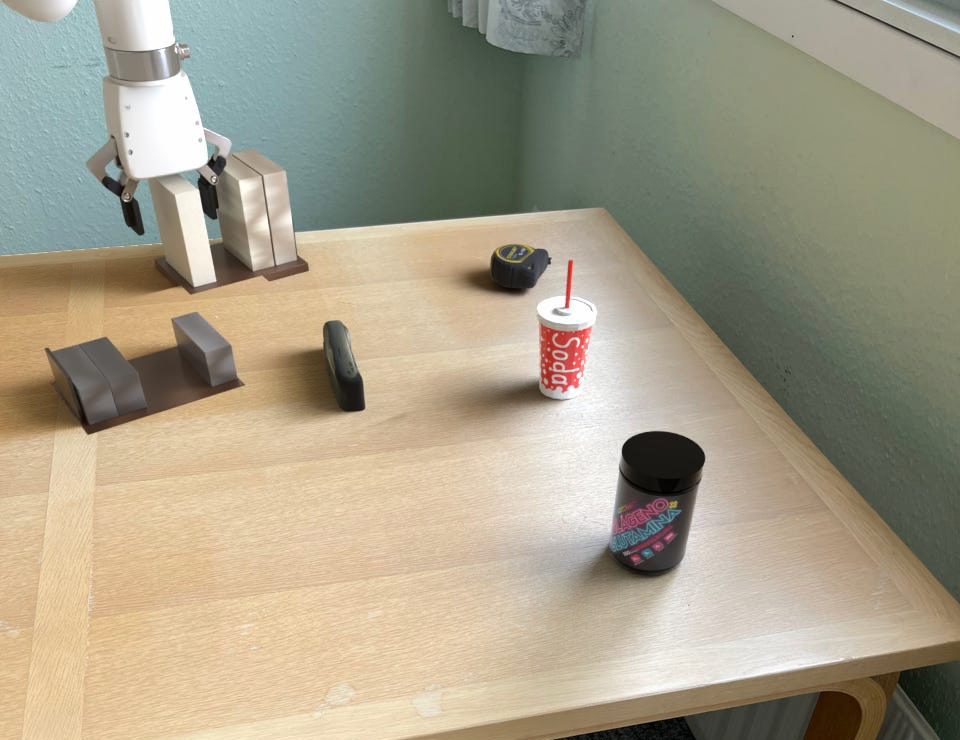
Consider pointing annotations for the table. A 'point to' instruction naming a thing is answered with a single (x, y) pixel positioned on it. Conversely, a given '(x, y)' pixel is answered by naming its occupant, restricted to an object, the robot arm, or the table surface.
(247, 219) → the bookend with slabs
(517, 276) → the tape measure
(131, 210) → the robot arm
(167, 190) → the white book
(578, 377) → the beverage cup
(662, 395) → the table surface
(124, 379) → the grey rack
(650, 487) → the supplement container
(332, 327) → the black stapler
